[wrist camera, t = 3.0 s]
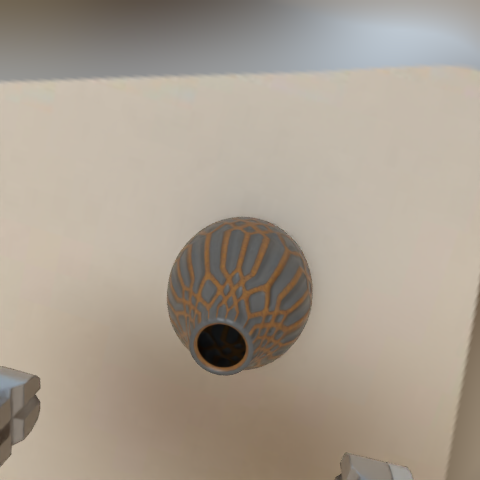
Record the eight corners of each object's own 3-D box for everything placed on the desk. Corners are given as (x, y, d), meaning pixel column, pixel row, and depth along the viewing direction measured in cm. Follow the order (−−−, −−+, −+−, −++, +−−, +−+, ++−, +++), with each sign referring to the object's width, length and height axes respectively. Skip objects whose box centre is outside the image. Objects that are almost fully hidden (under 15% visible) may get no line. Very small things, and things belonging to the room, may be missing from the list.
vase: (193, 199, 21) (126, 246, 13) (316, 212, 20) (332, 269, 12) (189, 309, 23) (130, 411, 15) (301, 324, 22) (305, 441, 14)
